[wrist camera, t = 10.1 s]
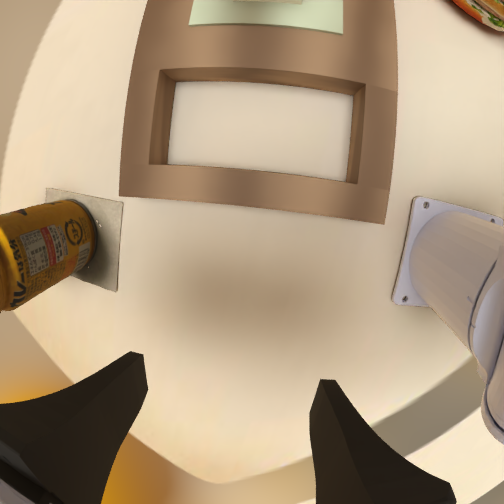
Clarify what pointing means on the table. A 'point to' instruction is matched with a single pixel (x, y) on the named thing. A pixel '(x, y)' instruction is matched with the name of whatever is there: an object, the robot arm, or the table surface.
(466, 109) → the table surface
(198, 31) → the board
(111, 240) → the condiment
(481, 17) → the burger
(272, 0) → the cream block
